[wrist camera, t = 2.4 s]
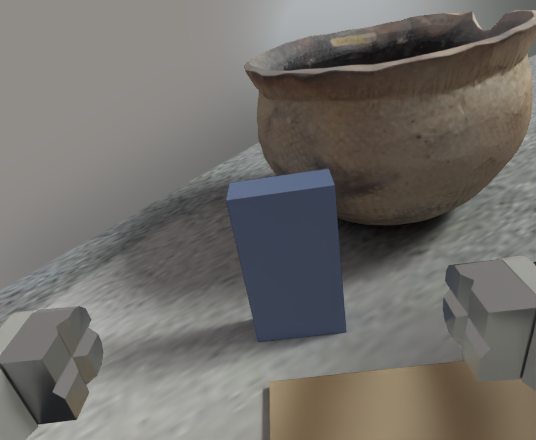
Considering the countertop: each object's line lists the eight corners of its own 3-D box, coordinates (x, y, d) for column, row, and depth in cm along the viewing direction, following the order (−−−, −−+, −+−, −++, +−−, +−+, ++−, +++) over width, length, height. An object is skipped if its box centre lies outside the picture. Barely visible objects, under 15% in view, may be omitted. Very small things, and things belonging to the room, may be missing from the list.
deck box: (340, 308, 27) (328, 168, 22) (346, 332, 25) (334, 184, 20) (258, 317, 27) (229, 183, 22) (258, 342, 25) (226, 200, 20)
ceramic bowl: (582, 246, 28) (646, 9, 21) (278, 293, 29) (240, 78, 22) (444, 147, 48) (453, 6, 40) (265, 176, 48) (242, 42, 41)
